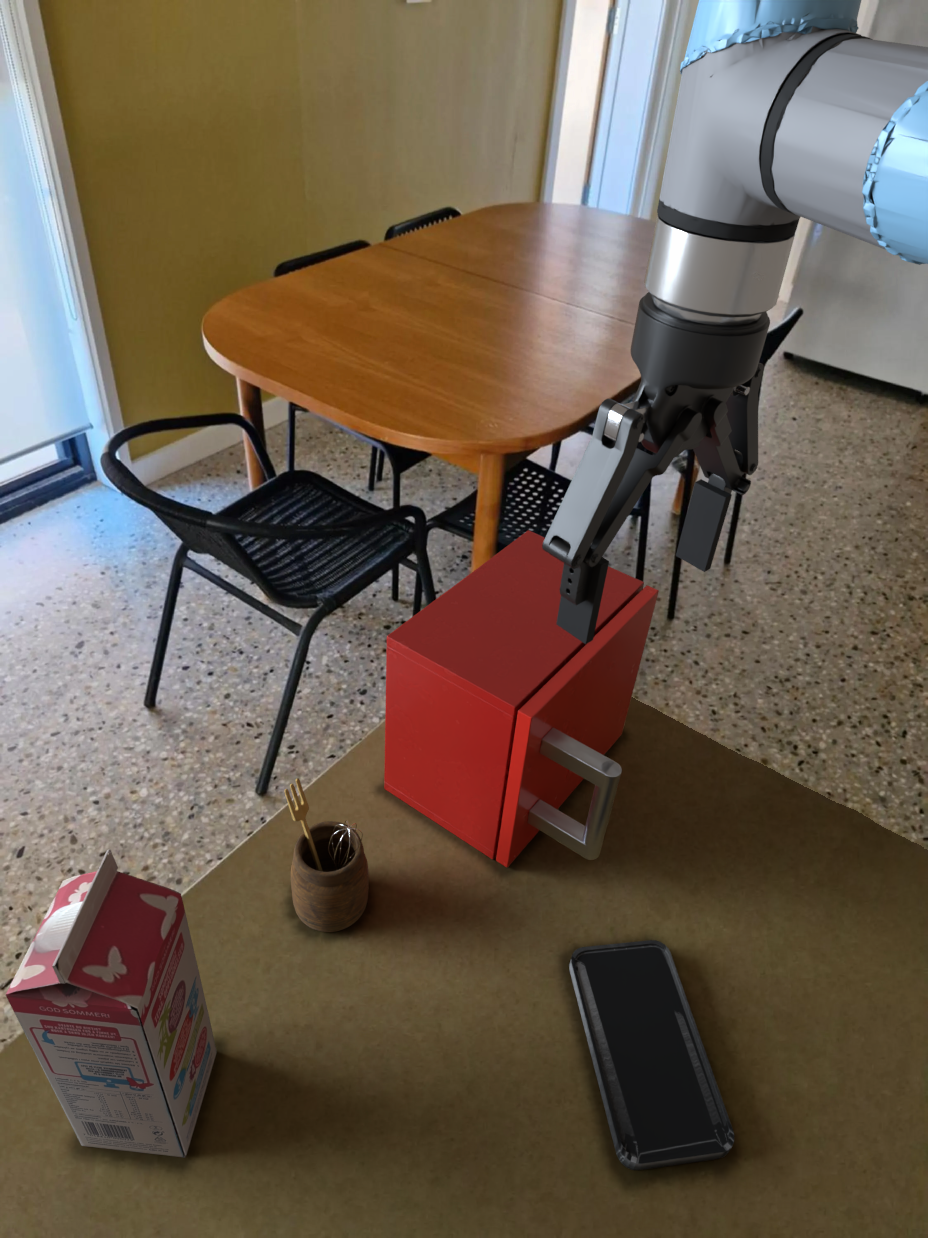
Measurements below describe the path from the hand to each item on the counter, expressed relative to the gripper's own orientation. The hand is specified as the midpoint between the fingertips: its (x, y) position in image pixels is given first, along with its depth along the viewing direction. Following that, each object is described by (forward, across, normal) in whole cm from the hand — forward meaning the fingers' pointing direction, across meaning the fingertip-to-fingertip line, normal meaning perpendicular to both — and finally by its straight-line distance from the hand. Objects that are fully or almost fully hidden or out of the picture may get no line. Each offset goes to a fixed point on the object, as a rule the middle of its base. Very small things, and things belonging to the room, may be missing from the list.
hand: (637, 595), depth 64 cm
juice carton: (+24, +40, -3) cm, 47 cm away
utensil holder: (+24, +23, -7) cm, 34 cm away
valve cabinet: (+24, +2, -9) cm, 26 cm away
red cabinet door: (+24, 0, +1) cm, 24 cm away
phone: (+24, +13, +17) cm, 32 cm away
